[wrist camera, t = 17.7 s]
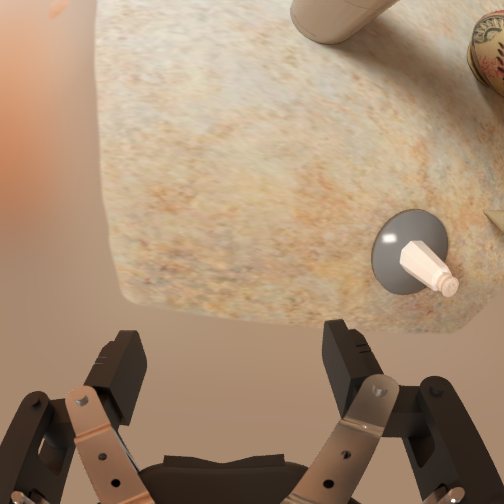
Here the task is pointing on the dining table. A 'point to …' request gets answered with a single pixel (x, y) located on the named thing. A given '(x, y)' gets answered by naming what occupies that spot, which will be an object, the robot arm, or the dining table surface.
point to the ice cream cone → (496, 217)
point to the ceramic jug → (488, 51)
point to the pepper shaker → (428, 268)
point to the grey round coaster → (396, 238)
